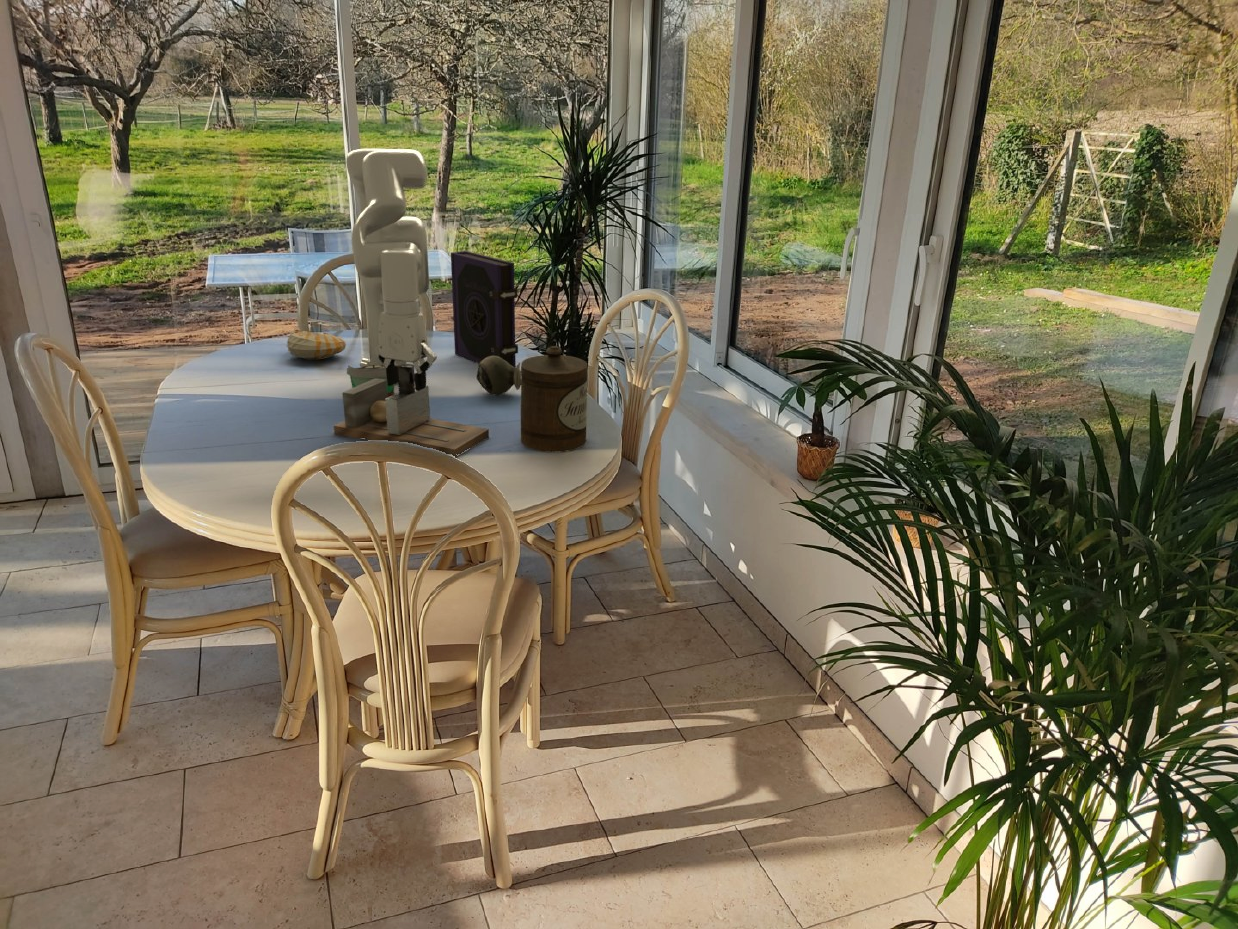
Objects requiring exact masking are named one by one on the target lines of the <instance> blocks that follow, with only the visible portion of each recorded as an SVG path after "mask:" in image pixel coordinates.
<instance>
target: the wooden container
mask: <svg viewBox="0 0 1238 929" xmlns="http://www.w3.org/2000/svg"><path fill="white" fill-rule="evenodd" d="M562 352H563V351H562V348H561V347H559V346H558V345H551V346H550V347H548V348H546V350H545V353H546V354H544V355H543V354H542V355H535V356H531V357H528V358H525V359H524V360H522V362H521V363H520V371H521V386H520V441H521V444H522V445H523V446H525V447H527V448H529V449H531V450H535V451H539V452H545V453H547V452H548V453H563V452H568V451H569V452H571V451H573V450H576V449H579V448H581V447H582V446H584V445H585V444H586V442H587V423H588V422H587V421H588V420H587V418H588V417H587V416H588V414H587V413H588V363H587V362H586V361H585V360H584V359H582V358H579V357H576V356H575V357H574V356H571V355H562Z"/></svg>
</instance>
